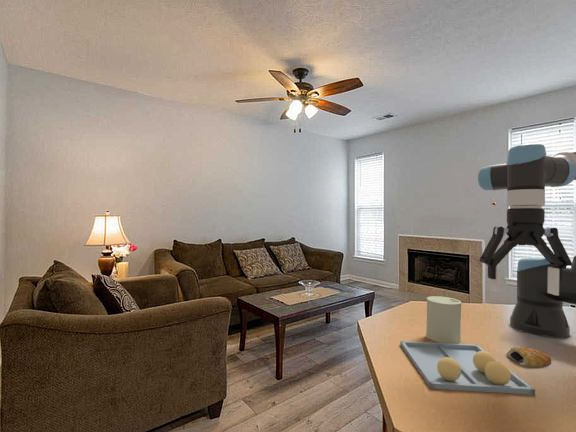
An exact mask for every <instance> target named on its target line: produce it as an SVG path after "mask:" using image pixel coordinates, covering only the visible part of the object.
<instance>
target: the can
mask: <svg viewBox="0 0 576 432" xmlns="http://www.w3.org/2000/svg"><path fill="white" fill-rule="evenodd" d="M462 304H463V303H462V301H461V300H459V299H457V298H452V297H448V296H440V295H439V296H438V295H432V296H431V295H430V296H427V297H426V329H425V330H426V333H425V338H427V339H430V340H431V341H433V342H436V343H452V344H461V342H462V337H461V333H462V332H461V329H462V326H461V325H462V323H461V322H462V321H461V320H462V319H461V318H462Z"/></svg>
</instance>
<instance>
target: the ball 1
mask: <svg viewBox="0 0 576 432" xmlns="http://www.w3.org/2000/svg"><path fill="white" fill-rule="evenodd" d="M496 360H497V359H496V358H495V356H494V355H493V354H491V353H490V352H488V351H486V350H485V351H479V352H477V353H475V354H474V356H473V363H474V366H475V367H476V368H477V369H478V370H479V371H480V372H483V373H485V366H486V365H487V363H489V362H491V361H496Z"/></svg>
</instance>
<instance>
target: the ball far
mask: <svg viewBox="0 0 576 432" xmlns="http://www.w3.org/2000/svg"><path fill="white" fill-rule="evenodd" d="M437 370H438V373H439V374H440V376H441V377H442V378H444V379H445V380H448V381H455V380H457V379H458V378H459V377H460V375H461V368H460V365H459V364H458V362H457V361H455V360H454V359H452V358H449V357H445V358H442V359H440V360H439V362H438V364H437Z"/></svg>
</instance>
